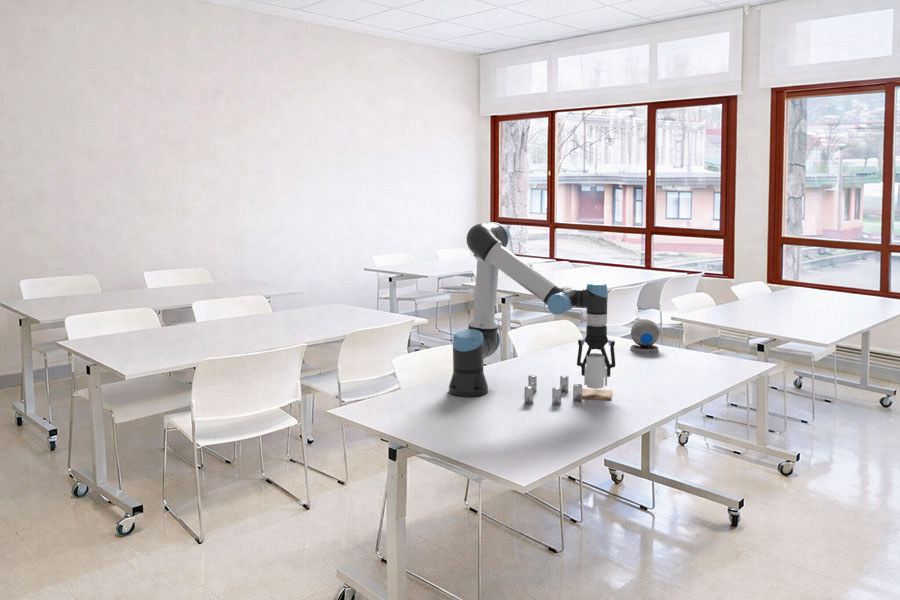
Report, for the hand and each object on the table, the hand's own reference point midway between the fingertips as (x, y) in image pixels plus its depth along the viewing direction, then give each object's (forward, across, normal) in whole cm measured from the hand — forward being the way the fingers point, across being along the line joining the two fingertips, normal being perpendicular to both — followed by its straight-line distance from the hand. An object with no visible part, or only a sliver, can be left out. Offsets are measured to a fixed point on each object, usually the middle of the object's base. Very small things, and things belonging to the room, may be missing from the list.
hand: (595, 384), depth 281 cm
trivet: (+4, 0, 0) cm, 4 cm away
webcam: (+5, +18, +81) cm, 83 cm away
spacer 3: (+4, -13, -14) cm, 20 cm away
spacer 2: (+4, -23, -15) cm, 28 cm away
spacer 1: (+4, -24, +1) cm, 25 cm away
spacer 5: (+4, -6, -8) cm, 11 cm away
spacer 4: (+4, -12, +3) cm, 13 cm away
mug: (+1, +1, 0) cm, 1 cm away
